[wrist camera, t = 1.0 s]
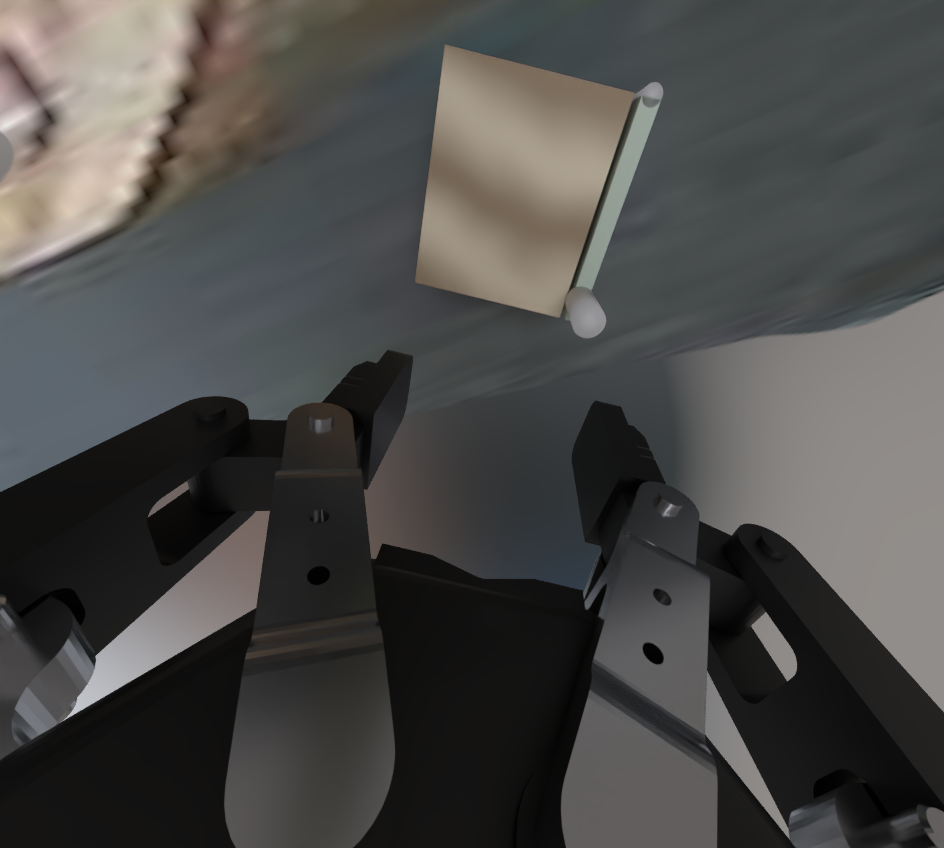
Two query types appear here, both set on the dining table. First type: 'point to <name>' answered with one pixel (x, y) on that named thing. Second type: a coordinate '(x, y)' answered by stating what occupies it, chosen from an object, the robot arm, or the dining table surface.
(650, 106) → the grey-green rectangular panel
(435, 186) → the birch box
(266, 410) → the dining table surface
